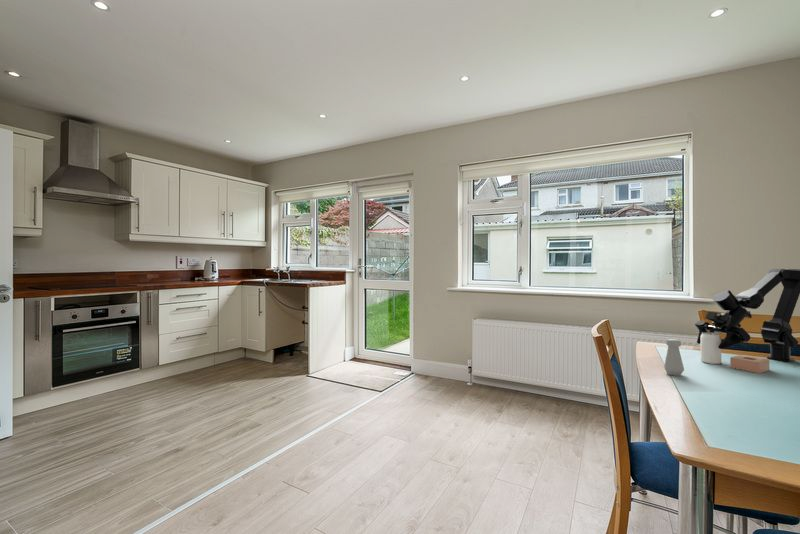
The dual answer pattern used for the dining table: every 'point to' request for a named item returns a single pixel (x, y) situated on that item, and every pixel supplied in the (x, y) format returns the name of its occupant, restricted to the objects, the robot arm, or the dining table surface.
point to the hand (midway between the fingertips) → (708, 345)
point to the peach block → (749, 363)
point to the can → (710, 347)
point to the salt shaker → (673, 358)
